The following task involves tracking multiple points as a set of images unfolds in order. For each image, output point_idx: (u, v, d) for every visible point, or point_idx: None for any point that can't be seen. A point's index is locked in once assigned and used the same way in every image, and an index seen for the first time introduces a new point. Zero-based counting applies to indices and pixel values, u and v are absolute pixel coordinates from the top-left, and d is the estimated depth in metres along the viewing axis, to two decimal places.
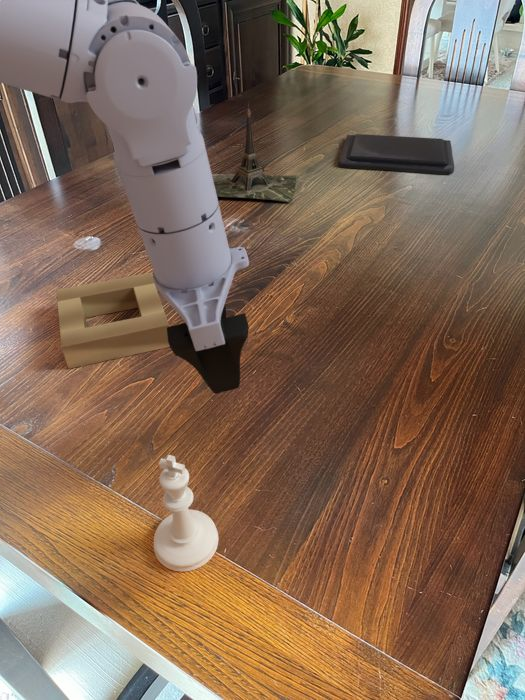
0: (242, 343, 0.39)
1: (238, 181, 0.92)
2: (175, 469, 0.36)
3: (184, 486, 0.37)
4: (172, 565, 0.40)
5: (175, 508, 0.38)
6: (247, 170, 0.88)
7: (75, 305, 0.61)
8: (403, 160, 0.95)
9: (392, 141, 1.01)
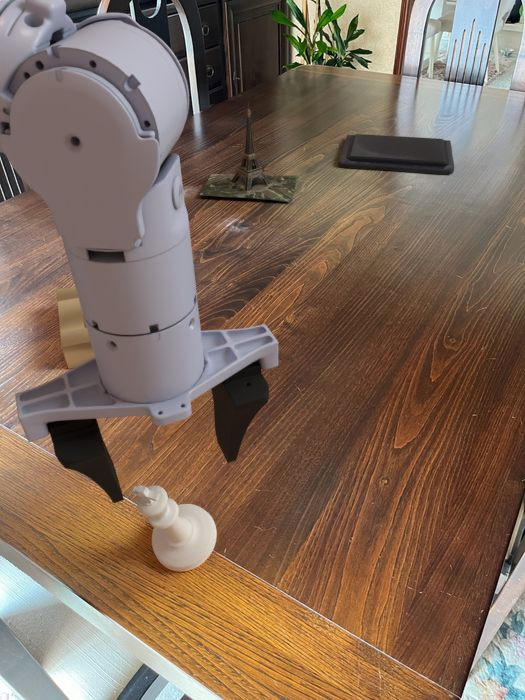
0: None
1: (238, 181, 0.92)
2: (149, 498, 0.34)
3: (163, 510, 0.35)
4: (171, 567, 0.40)
5: (160, 526, 0.37)
6: (247, 170, 0.88)
7: (75, 305, 0.61)
8: (403, 160, 0.95)
9: (392, 141, 1.01)
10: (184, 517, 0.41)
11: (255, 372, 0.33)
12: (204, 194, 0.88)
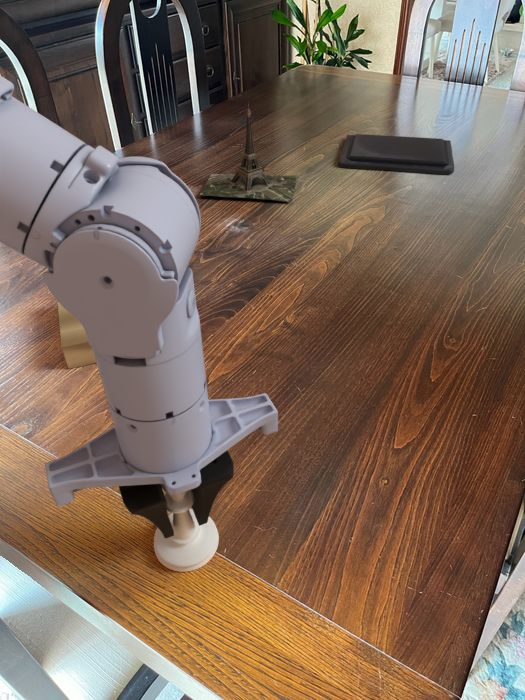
0: None
1: (238, 181, 0.92)
2: None
3: None
4: (170, 565, 0.40)
5: (174, 510, 0.38)
6: (247, 170, 0.88)
7: None
8: (403, 160, 0.95)
9: (392, 141, 1.01)
10: (191, 518, 0.42)
11: None
12: (204, 194, 0.88)
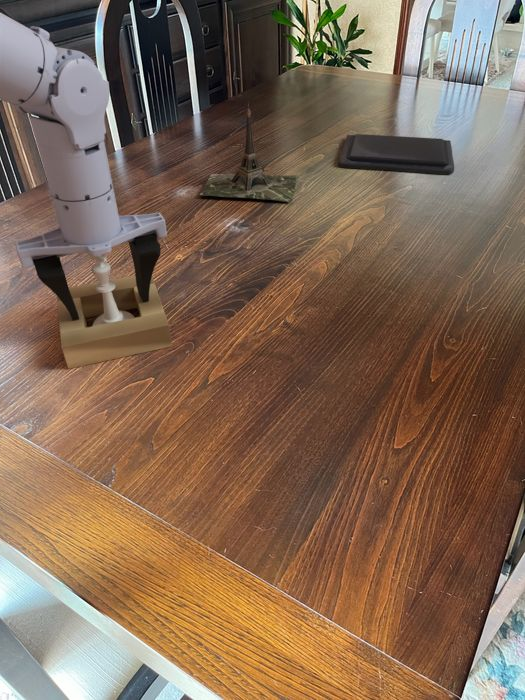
0: (46, 284, 0.54)
1: (238, 181, 0.92)
2: (100, 258, 0.57)
3: (106, 272, 0.57)
4: None
5: (101, 290, 0.58)
6: (247, 170, 0.88)
7: (75, 305, 0.61)
8: (403, 160, 0.95)
9: (392, 141, 1.01)
10: None
11: (153, 239, 0.57)
12: (204, 194, 0.88)
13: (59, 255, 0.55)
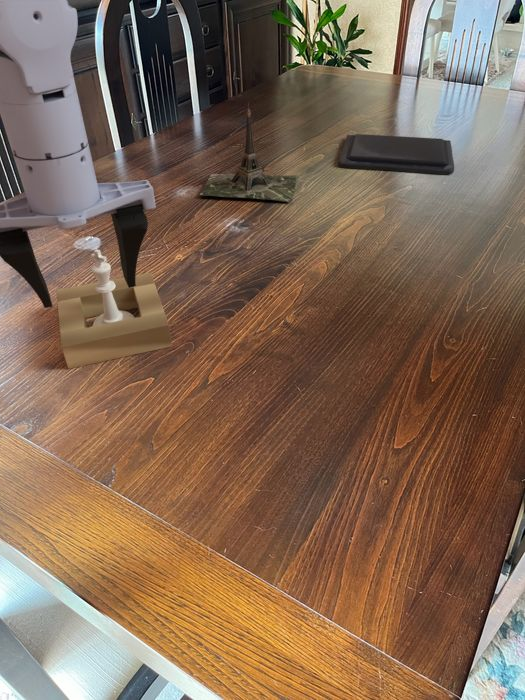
0: None
1: (238, 181, 0.92)
2: (100, 258, 0.57)
3: (106, 272, 0.57)
4: None
5: (101, 290, 0.58)
6: (247, 170, 0.88)
7: (75, 305, 0.61)
8: (403, 160, 0.95)
9: (392, 141, 1.01)
10: None
11: (139, 211, 0.48)
12: (204, 194, 0.88)
13: (25, 229, 0.46)
